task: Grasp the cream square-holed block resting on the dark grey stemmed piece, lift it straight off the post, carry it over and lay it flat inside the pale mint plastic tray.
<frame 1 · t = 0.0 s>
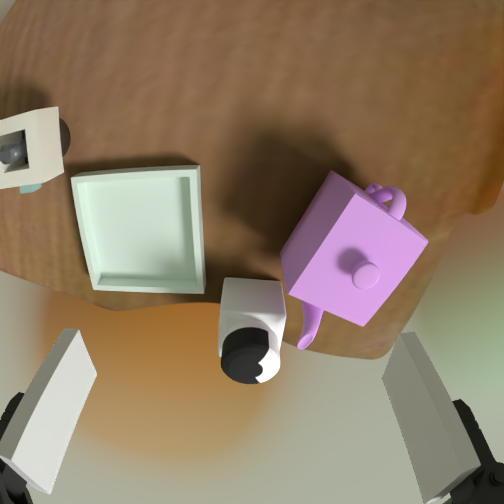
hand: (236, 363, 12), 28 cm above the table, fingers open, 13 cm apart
tray: (142, 228, 40), on the table
dark grey stemmed piece: (52, 139, 34), on the table
teapot: (329, 235, 40), on the table
container: (250, 300, 45), on the table
cream square-holed block: (35, 144, 30), point 4 cm above the table, touching dark grey stemmed piece
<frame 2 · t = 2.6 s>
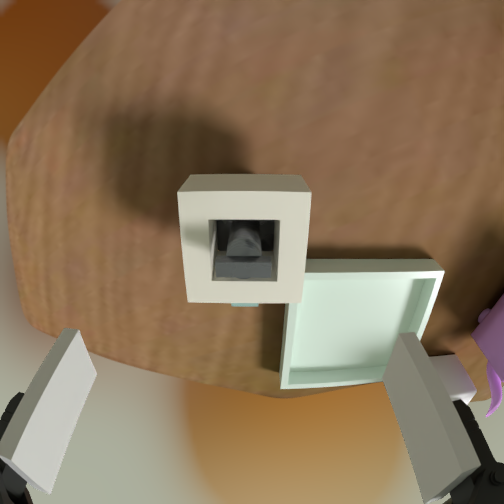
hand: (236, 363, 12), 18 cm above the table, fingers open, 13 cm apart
tray: (354, 322, 34), on the table
dark grey stemmed piece: (246, 208, 28), on the table
teapot: (499, 313, 35), on the table
container: (425, 372, 39), on the table
cream square-holed block: (245, 225, 25), point 4 cm above the table, touching dark grey stemmed piece
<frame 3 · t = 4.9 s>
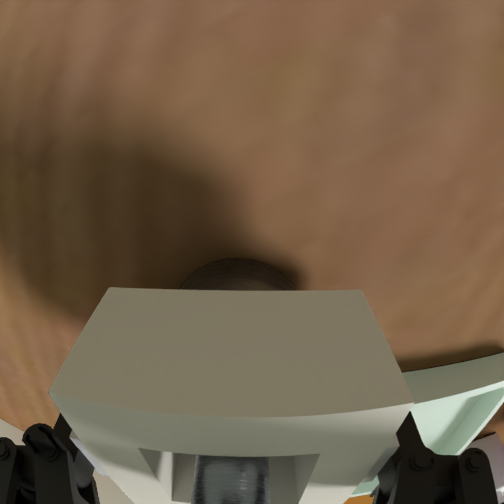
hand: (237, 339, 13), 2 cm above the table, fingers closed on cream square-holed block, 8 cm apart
tray: (391, 433, 21), on the table
dark grey stemmed piece: (238, 314, 15), on the table
container: (460, 454, 26), on the table
cream square-holed block: (235, 378, 11), point 4 cm above the table, touching gripper, dark grey stemmed piece
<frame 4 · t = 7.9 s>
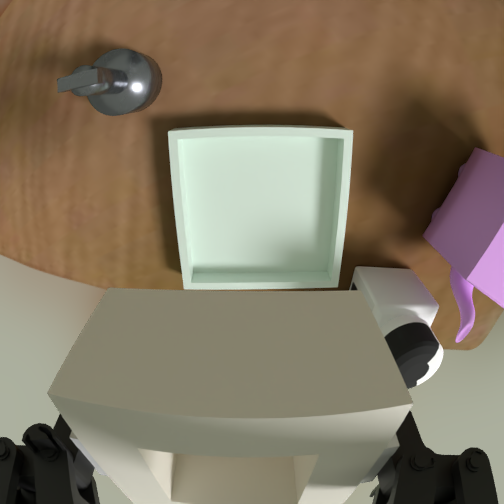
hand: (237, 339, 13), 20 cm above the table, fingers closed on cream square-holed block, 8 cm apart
tray: (260, 205, 31), on the table
dark grey stemmed piece: (132, 82, 26), on the table
teapot: (460, 218, 32), on the table
container: (376, 293, 37), on the table
cream square-holed block: (235, 379, 11), point 22 cm above the table, touching gripper
when the fingers open (3 cm above the table, at t = 10.8 s): cream square-holed block drops 4 cm, resting on tray.
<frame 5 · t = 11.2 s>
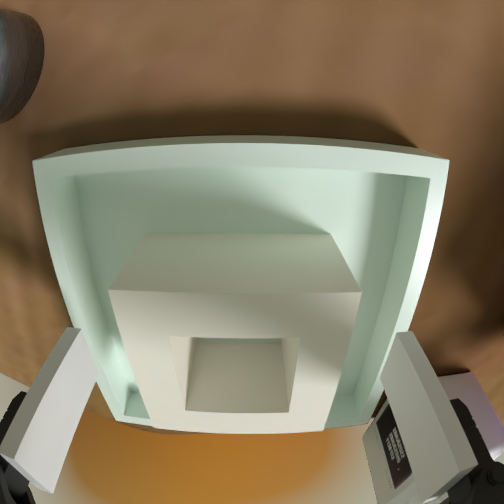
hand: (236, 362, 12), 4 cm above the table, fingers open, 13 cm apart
tray: (239, 302, 16), on the table
dark grey stemmed piece: (1, 68, 10), on the table
container: (416, 404, 21), on the table
cream square-holed block: (238, 310, 15), point 1 cm above the table, touching tray
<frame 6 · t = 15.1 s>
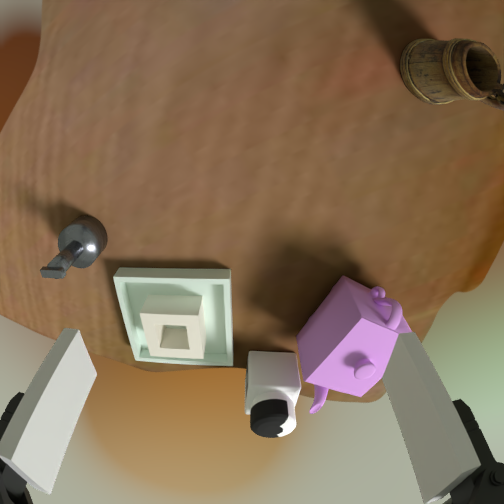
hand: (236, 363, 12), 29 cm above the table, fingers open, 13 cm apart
tray: (178, 314, 47), on the table
wooden mug: (440, 83, 31), on the table
dark grey stemmed piece: (88, 235, 41), on the table
teapot: (337, 319, 47), on the table
container: (269, 365, 52), on the table
cream square-holed block: (178, 317, 46), point 1 cm above the table, touching tray
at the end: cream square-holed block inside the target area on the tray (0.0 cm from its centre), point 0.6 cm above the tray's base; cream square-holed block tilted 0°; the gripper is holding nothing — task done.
